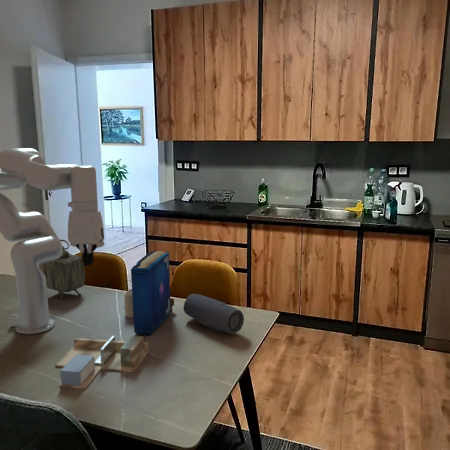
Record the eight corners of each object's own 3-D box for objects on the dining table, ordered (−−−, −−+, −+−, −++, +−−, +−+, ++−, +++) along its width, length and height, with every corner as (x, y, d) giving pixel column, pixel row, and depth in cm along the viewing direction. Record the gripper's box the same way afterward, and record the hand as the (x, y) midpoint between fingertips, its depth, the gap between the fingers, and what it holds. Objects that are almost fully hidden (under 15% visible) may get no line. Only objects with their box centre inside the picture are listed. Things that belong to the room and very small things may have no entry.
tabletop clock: (86, 296, 187) (82, 239, 183) (70, 303, 179) (66, 243, 175) (60, 291, 193) (56, 236, 188) (44, 298, 185) (39, 240, 180)
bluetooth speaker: (245, 332, 152) (245, 305, 150) (226, 341, 145) (226, 312, 144) (201, 314, 168) (201, 289, 166) (182, 321, 161) (182, 295, 159)
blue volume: (150, 338, 147) (148, 266, 143) (131, 336, 149) (128, 265, 144) (171, 313, 168) (169, 250, 164) (153, 312, 170) (151, 249, 165)
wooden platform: (36, 384, 119) (34, 364, 118) (77, 345, 142) (75, 328, 141) (121, 391, 116) (120, 370, 114) (148, 350, 138) (148, 332, 137)
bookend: (93, 364, 128) (93, 348, 127) (106, 350, 137) (105, 335, 136) (103, 365, 128) (102, 349, 127) (115, 351, 137) (114, 335, 136)
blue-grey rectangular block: (61, 384, 118) (60, 370, 117) (76, 367, 127) (76, 354, 126) (80, 385, 117) (79, 372, 116) (95, 369, 126) (94, 356, 125)
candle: (127, 319, 163) (126, 293, 161) (123, 314, 168) (122, 289, 166) (141, 316, 166) (140, 291, 164) (137, 311, 170) (136, 287, 169)
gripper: (55, 207, 131) (59, 267, 134) (103, 208, 129) (106, 269, 132) (67, 204, 138) (71, 260, 142) (113, 205, 136) (115, 262, 140)
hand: (88, 264), depth 137 cm, fingers closed
